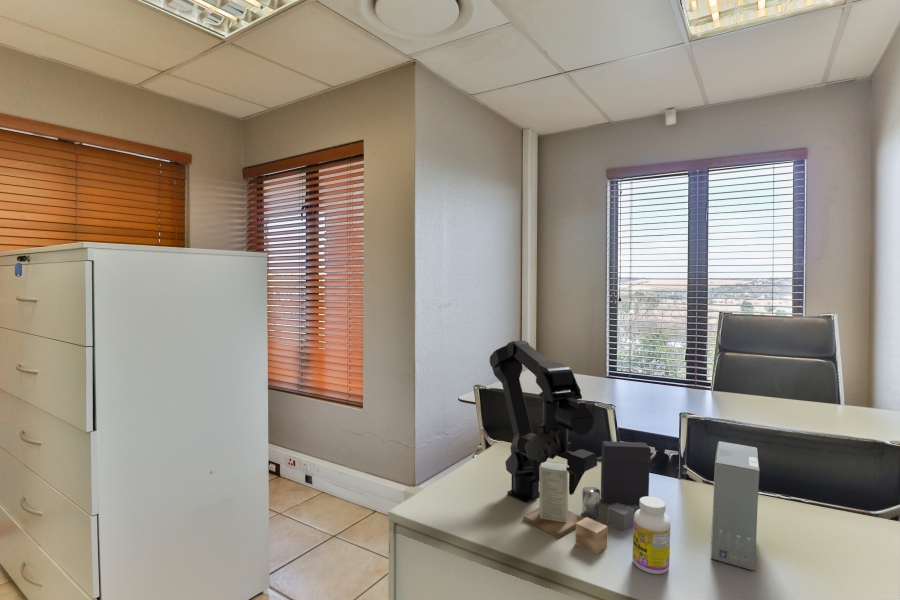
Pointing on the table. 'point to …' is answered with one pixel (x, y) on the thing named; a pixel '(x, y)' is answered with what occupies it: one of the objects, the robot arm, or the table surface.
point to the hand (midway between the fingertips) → (554, 487)
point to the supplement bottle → (651, 536)
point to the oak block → (591, 535)
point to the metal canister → (591, 502)
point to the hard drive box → (735, 505)
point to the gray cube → (620, 517)
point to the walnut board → (553, 523)
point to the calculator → (624, 472)
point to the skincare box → (553, 491)
